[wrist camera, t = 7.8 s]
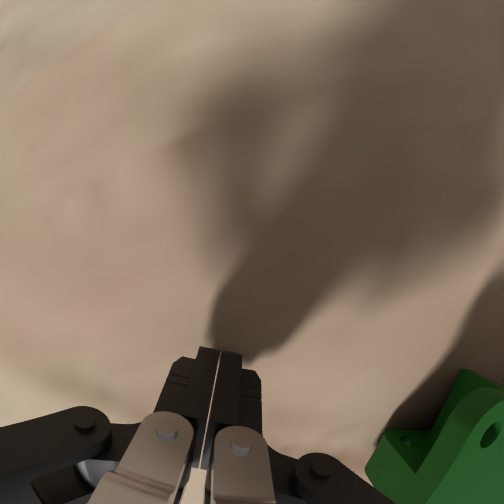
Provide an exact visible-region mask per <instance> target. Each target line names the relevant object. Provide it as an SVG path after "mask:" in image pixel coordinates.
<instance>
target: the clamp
mask: <svg viewBox="0 0 504 504" xmlns="http://www.w3.org/2000/svg"><path fill="white" fill-rule="evenodd" d="M365 473H366V475H367V477H368V478H369V480H370V481H371V483H372V485H373V486H374V488H375V489H377V490H378V491H379V492H381V493H382V494H384V495H385V496H386V497H388V498H389V499H391V500H392V501H394V502H395V503H396V504H504V387H503V386H501V385H499V384H497V383H495V382H493V381H491V380H489V379H487V378H485V377H483V376H481V375H479V374H477V373H475V372H473V371H471V370H469V369H464V368H462V369H461V370H460V372H459V374H458V375H457V377H456V380H455V382H454V384H453V387H452V389H451V391H450V393H449V395H448V398H447V400H446V402H445V404H444V406H443V408H442V410H441V412H440V414H439V416H438V418H437V420H436V422H435V424H434V426H433V428H432V429H431V431H414V430H400V429H388V430H386V431H385V433H384V435H383V436H382V438H381V440H380V442H379V444H378V445H377V447H376V449H375V451H374V452H373V454H372V456H371V458H370V459H369V461H368V463H367V464H366V466H365Z"/></svg>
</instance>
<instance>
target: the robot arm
mask: <svg viewBox="0 0 504 504" xmlns="http://www.w3.org/2000/svg"><path fill="white" fill-rule="evenodd" d="M219 354H220V350H217V349H212V348H207V347H202V346H200V347H199V350H198V354H197V357H196V359H192V358H187V357H183V356H182V357H181V358H179V359H178V360H177V361H175V362H174V363H173V364H172V367H171V369H170V372H169V375H168V377H167V379H166V383H165V384H164V387H163V389H162V392H161V394H160V397H159V399H158V402H157V404H156V407H155V410H154V412H153V413H152V414H149V415H148V416H146V417H145V418H144V419H143V421H142V422H140V423H136V424H114V423H110V421H109V419H108V418H107V416H106V415H105V414H104V413H103V412H101V411H99V410H98V409H95V408H92V407H88V406H77V407H73V408H70V409H66V410H63V411H60V412H56V413H53V414H49V415H46V416H42V417H39V418H35V419H31V420H28V421H24V422H20V423H16V424H12V425H8V426H4V427H0V504H181V501H182V498H183V494H184V491H185V488H186V484H187V483H188V481H189V478H190V473H191V467H194V468H198V466H199V461H200V455H201V450H202V445H203V439H204V434H205V429H206V423H207V418H208V413H209V407H210V402H211V396H212V391H213V386H214V380H215V375H216V370H217V364H218V359H219ZM200 469H205V470H207V474H206V481H205V485H204V490H203V504H396V503H395V502H394V501H392V500H391V499H389V498H388V497H386V496H385V495H384V494H382V493H381V492H379V491H378V490H377V489H375V488H374V487H372V486H371V485H370V484H368V483H367V482H366V481H364V480H363V479H362V478H360V477H359V476H358V475H356V474H355V473H354V472H352V471H351V470H350V469H349V468H347V467H346V466H345V465H343V464H342V463H341V462H340V461H338V460H337V459H336V458H334V457H332V456H330V455H327V454H324V453H309V454H306V455H304V456H302V457H301V458H299V460H298V459H295V458H292V457H289V456H286V455H283V454H280V453H278V452H276V451H275V450H273V449H272V448H271V447H270V446H269V445H268V444H267V442H266V440H265V439H264V437H263V435H262V401H261V380H260V378H259V376H258V375H257V373H256V372H255V371H254V370H248V369H242V354H237V353H232V352H227V351H222V353H221V358H220V363H219V368H218V373H217V378H216V384H215V389H214V394H213V400H212V405H211V411H210V416H209V422H208V428H207V433H206V439H205V445H204V450H203V456H202V462H201V468H200Z"/></svg>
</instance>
